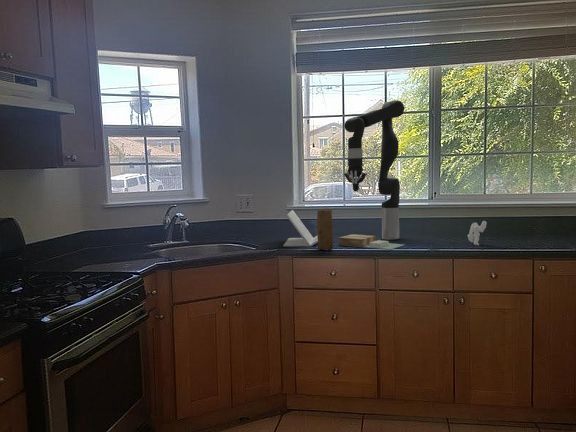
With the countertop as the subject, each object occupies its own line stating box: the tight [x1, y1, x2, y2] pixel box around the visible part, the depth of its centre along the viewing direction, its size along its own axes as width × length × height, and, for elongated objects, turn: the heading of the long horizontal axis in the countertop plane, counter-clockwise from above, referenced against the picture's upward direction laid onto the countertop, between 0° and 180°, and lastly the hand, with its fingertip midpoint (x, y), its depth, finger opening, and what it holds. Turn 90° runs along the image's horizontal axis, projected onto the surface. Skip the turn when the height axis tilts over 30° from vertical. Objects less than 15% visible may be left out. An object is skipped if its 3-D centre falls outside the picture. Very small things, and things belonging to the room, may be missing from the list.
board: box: [337, 233, 377, 248], centre depth 271 cm, size 14×14×4 cm
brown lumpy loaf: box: [316, 208, 334, 251], centre depth 260 cm, size 11×8×20 cm
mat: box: [362, 242, 405, 251], centre depth 263 cm, size 15×16×1 cm
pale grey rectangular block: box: [369, 239, 390, 248], centre depth 263 cm, size 9×6×2 cm, turn 141°
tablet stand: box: [283, 209, 318, 247], centre depth 282 cm, size 18×25×17 cm
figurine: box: [467, 220, 488, 246], centre depth 260 cm, size 10×5×12 cm, turn 33°
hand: (355, 191), depth 270 cm, fingers closed
